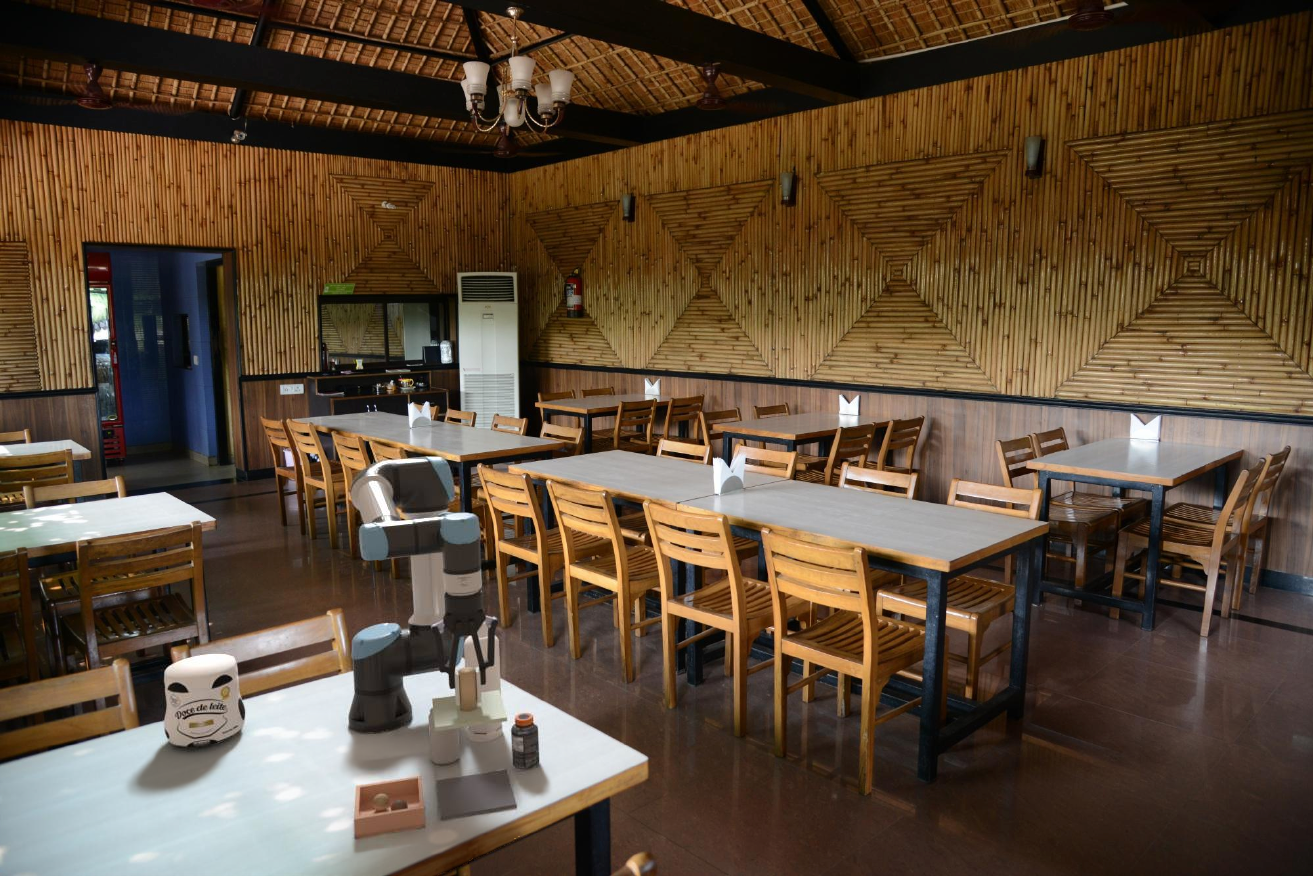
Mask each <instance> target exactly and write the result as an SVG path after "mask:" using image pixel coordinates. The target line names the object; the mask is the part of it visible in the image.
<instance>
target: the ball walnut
mask: <svg viewBox="0 0 1313 876" xmlns="http://www.w3.org/2000/svg"><path fill="white" fill-rule="evenodd" d="M407 808H408V805H407V803H406V802H405V801H404V800H401V799H399V800H396V801H395V802H394V803H393V804H392V806H391V811H395V810H401V809H407Z"/></svg>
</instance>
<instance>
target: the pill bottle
mask: <svg viewBox="0 0 1313 876" xmlns="http://www.w3.org/2000/svg"><path fill="white" fill-rule="evenodd" d="M534 720H535V719H534V715H533V713H529V712H521V713H519V714H516V715H515V717H514V724H512V727H511V729H510V733H511V737H510V738H511V755H512V756H511V760H512V766H513V768H514V769H516V770H521V771H528V770H532V769H535V768H536V767H537V766H538V765H539V764H540V748H539V747H540V746H539V745H540V744H539V743H540V740H539V728H538V724H537V723H535V722H534Z"/></svg>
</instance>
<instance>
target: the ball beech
mask: <svg viewBox="0 0 1313 876" xmlns="http://www.w3.org/2000/svg"><path fill="white" fill-rule="evenodd" d="M388 805H389V798H388V796H387V795H385V794H378V795H377V796H375V798H374V799H373V807H374V808H375V809H376V810H378V811H382V810H385V809H386V808H387V807H388Z"/></svg>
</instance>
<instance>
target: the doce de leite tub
mask: <svg viewBox="0 0 1313 876" xmlns="http://www.w3.org/2000/svg"><path fill="white" fill-rule="evenodd" d="M163 676H164V678H163V683H164V687H165V688H164V692H165V701H166V711H165V715H164V720H163V726H164V727H163V729H164V734H165V737H166V739H167V740H168V742H169V743H170V744H171V745H173V746H175V747H178V748H185V749H196V748H197V749H198V748H204V747H208V746H209V747H210V746H214V745H216V744H219V743H222V742H224V741H227V740H229V739H231V738H232V737H235V735H237V734H238V733H239V732H240V731H241V730H242V729H243V727H244V724H245V721H246V720H245V719H246V708H245V704H244V701H243V698H242V695H241V693H240V684H239V683H240V682H239V670H238V663H237V661H236V659H235V656H233V655H230V654H224V653H209V654H202V655H195V656H191V657H188V658H184V659H181V660H178V661H175V662H174V663H172V664H171V665H168V667H166V669H165V670H164V675H163Z"/></svg>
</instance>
